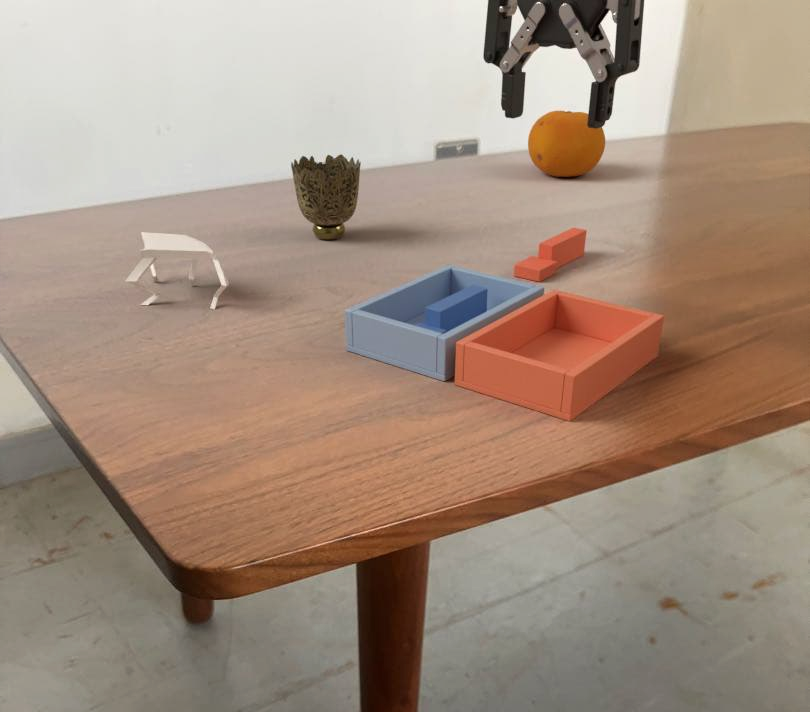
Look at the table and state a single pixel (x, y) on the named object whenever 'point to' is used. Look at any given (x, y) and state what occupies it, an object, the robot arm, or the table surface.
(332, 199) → the cup
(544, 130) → the fruit
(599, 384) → the coral bin
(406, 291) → the blue bin
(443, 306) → the blue stepped bar
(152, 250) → the origami figure
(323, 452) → the table surface
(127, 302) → the table surface
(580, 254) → the salmon l-shaped block
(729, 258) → the table surface
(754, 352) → the table surface
